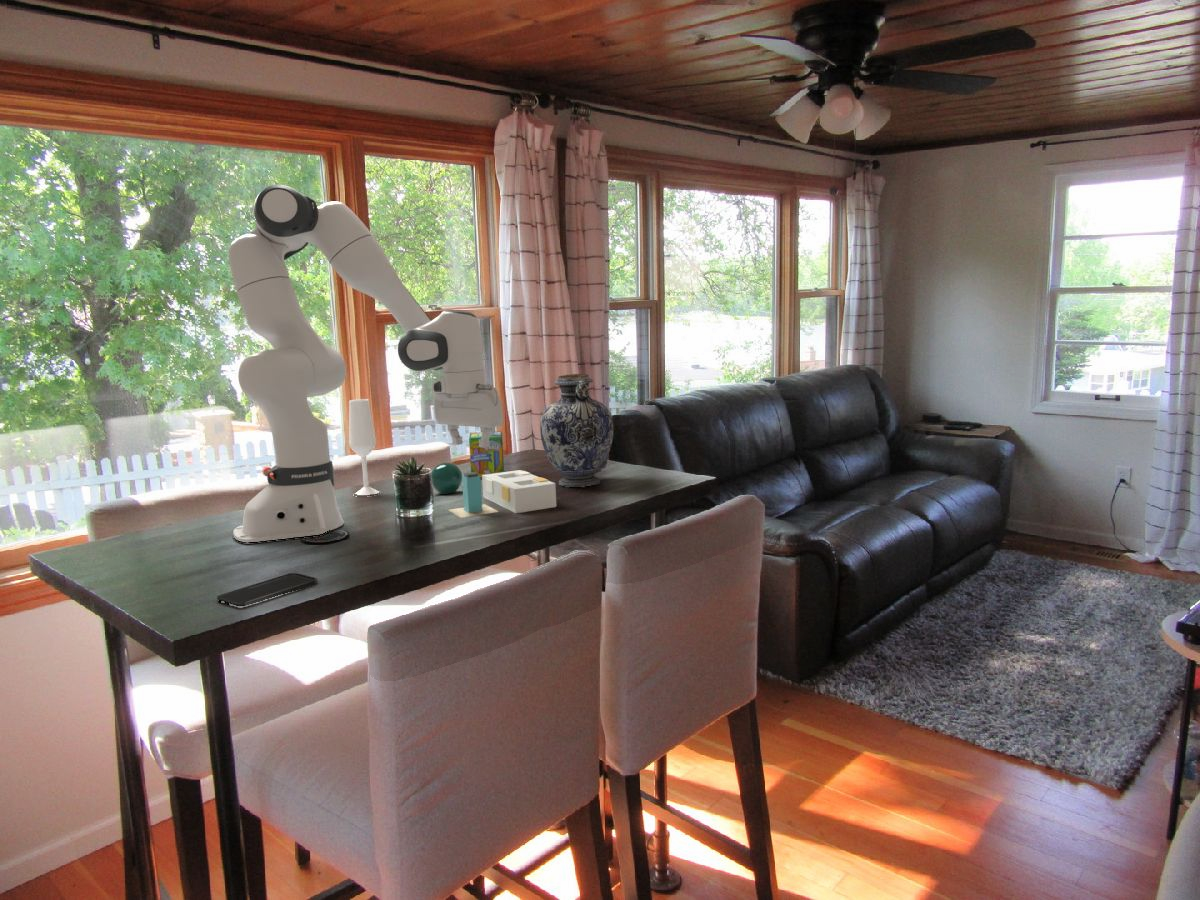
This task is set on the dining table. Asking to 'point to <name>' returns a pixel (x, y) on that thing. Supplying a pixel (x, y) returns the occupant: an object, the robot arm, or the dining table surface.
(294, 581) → the phone
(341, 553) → the dining table surface
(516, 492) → the block
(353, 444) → the champagne flute
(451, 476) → the sphere
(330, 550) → the dining table surface
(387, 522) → the dining table surface
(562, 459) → the decorative vase
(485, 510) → the coaster
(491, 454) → the chalk box
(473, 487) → the plug
